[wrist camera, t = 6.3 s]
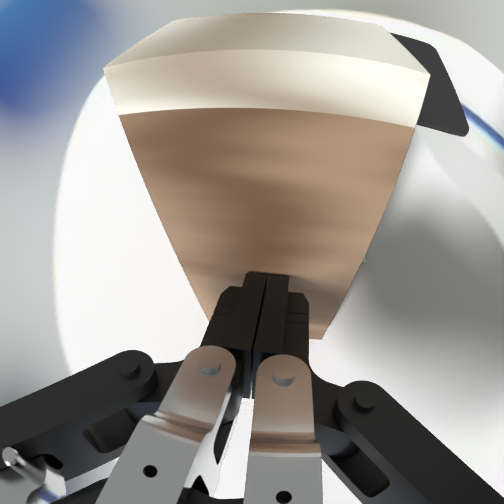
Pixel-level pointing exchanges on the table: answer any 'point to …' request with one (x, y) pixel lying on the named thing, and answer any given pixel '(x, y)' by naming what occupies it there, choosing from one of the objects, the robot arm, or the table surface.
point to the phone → (436, 91)
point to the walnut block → (269, 145)
